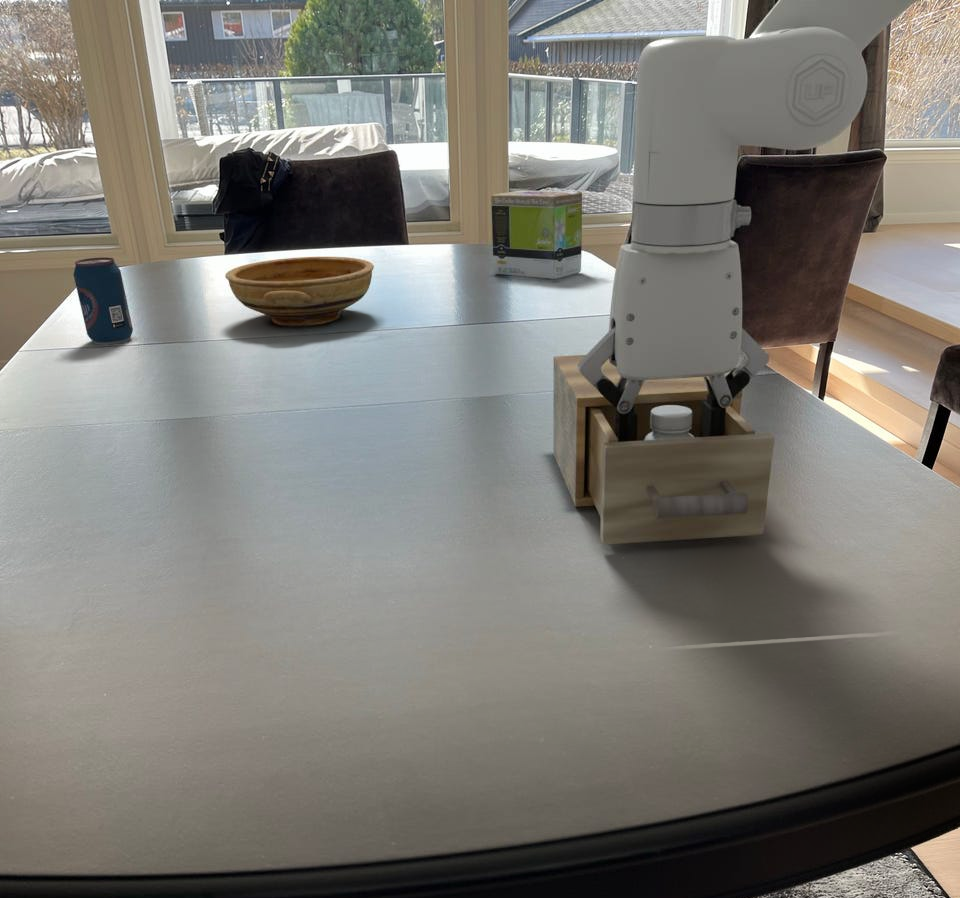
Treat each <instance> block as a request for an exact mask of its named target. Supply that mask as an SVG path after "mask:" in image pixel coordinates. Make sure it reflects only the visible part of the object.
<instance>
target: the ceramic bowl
mask: <svg viewBox="0 0 960 898" xmlns="http://www.w3.org/2000/svg"><path fill="white" fill-rule="evenodd" d="M374 268H375V265H374V264H373V263H372V262H370V261H368V260H365V259H361V258H355V257H349V256H348V257H347V256H301V257H299V256H298V257H288V258H279V259H278V258H277V259H270V260H263V261H258V262H251V263H247V264H243V265H240V266H237V267H234V268H231V269H230V270H228V271H227V272H226V273H225V279H226V280H227V281H228V284H229V287H230V290H231V292H232V294H233V295H234V297H235V298H236V299H237V300H238V301H239V302H240V304H242V305H243V306H244V307H246V308H248V309H250V310H251V311H252V310H253V311H255V312H258V313H260V314H262V315H265V316H269V317H271V321H272V322H273V323H274V324H276V325H280V326H287V327H297V326H298V327H302V326H315V325H316V326H317V325H322V324H326V323H330V322H333V321H336V320H338V319H339V318H340V312H342V311H344V310H345V309H347V308H349V307H351V306H353V305H354V304H356V303H357V302H359V301H361V300H362V298H364V296H365V295H366V294H367V293H368V291H369V288H370V286H371V282H372V277H373V270H374Z"/></svg>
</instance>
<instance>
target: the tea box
mask: <svg viewBox="0 0 960 898" xmlns="http://www.w3.org/2000/svg"><path fill="white" fill-rule="evenodd" d="M490 198H491V199H490V201H491V204H490V205H491V239H492V240H491V241H492V265H493V266H492V267H493V270H494V271H493V270H492V271H493V274H494V275H504V276H516V277H517V276H518V277H530V278H541V279H550V280H551V279H552V280H556V279H562V278H564V277H565V278H566V277H569V276H572V275H576V274H578V273H581V271H582V250H583V249H582V247H583V246H582V245H583V244H582V243H583V242H582V241H583V236H582V235H583V192H582V191H578V190H577V191H576V190H575V191H574V190H571V191H565V190H563V191H562V190H529V189H528V190H526V189H525V190H521V189H520V190H513V191H507V192H501V193H494V194H492V195H490Z"/></svg>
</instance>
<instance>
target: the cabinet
mask: <svg viewBox="0 0 960 898" xmlns="http://www.w3.org/2000/svg"><path fill="white" fill-rule="evenodd" d="M586 355H587V354H575V355H559V356H556V355H555V356H553V399H552V400H553V409H552V411H553V417H552V418H553V421H552V422H553V423H552V425H553V429H552V430H553V431H552V434H553V437H552V438H553V440H552V441H553V442H552V443H553V444H552V445H553V447H552V449H553V451H552V454H553V456H554V458H555V461H556V464H557V466H558V468H559V470H560V473H561V475H562V478H563V481H564V483H565V485H566V488H567V491H568V492H569V495H570V498H571V500H572V502H573V505H574V507H575V508H576V507H591V506H592V507H593V506H595V504H594V502H593V500H592V497H591V495H590V493H589V491H588V489H587V487H586V484H585V482H584V464H585V414H586V407H589V406H606V405H612V404H611V403H610V402H609V401H608V400H607V399H606V398H605V397H604V396H603V395H601V394H600V392H599V391H598V390H597V389H596V388H595V387H594V386H593V385H592V384H591V383H590V382H589V381H588V380H587V379H586V378H585V377H584V376H583V375H582V374H581V373H580V371H579V370H578V363H579V362H580V361H581V360H582V359H583V358H584V357H585V356H586ZM601 372H602V373H603V374H604V375H605V376H606V377H608V378H609V379H610V380H611V381H612V382H613V383H614V384H615V385H617V383H618V380H619V378H620V375H619V373H618V371H617V367H616V366H614V365H612V364H611V363H610V361H609V359H608V360H607V361H606V362H605V363H604V364H603V365H602V367H601ZM727 375H728V374H727V373H725V374H724V376H725V377H726V376H727ZM743 390H744V388H743V389H742V390H741V391H740V392H739V393H738V394H737V395H736V396H735V397H734V398H733V400H732V403H731V405H730V406H731V407H732V408H733V409H734V410H735V411H736V412H737V413H738V414H739V415H740V416H741V408H742V400H743V399H742V398H743ZM708 393H709V392H708V390H707V387H706V384H705V381H704V378H703V377H691V378H675V379H658V380H645V381H644V383H643V385H642V387H641V389H640V391H639V394H638V396H637V398H636V400H635V402H634V404H642V403H660V402H677V401H695V400H704V398H707V394H708ZM595 507H596V506H595Z"/></svg>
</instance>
